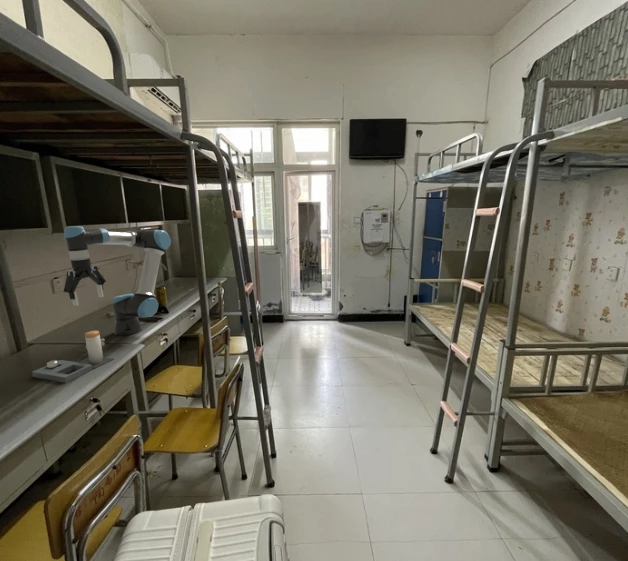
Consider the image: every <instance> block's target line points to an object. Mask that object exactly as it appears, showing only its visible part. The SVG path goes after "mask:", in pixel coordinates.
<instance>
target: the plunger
mask: <svg viewBox="0 0 628 561" xmlns="http://www.w3.org/2000/svg"><path fill="white" fill-rule="evenodd" d="M58 361H59V360H58V359H54V360H50V361H48V362H46V366H47V368H48V369H50V370H52V369H54V368H56V367H59V364H58Z"/></svg>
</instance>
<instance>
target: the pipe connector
mask: <svg viewBox="0 0 628 561" xmlns="http://www.w3.org/2000/svg"><path fill="white" fill-rule="evenodd" d="M100 340H101V347H104V346H105V345H106V343H105V341H106V340H105V338H104V337H102V338H100ZM85 350H87V345H85Z"/></svg>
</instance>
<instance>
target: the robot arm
mask: <svg viewBox="0 0 628 561" xmlns="http://www.w3.org/2000/svg"><path fill="white" fill-rule="evenodd" d="M63 229H64V232H63V234H62V236H63V240H64V241H65V242H66V246H67V249H68V254H69V259H70V263H71V264H70V265H71V269H73V271H71V270H69V271H66V279H65V284H64V287H63V292H64V293H68V296H69V299H70V300H71V302H72V305H73V306H74V307H75V306H77V307H78V306H79V305H80V304H79V299H78V295H77V291H76V289H77V287H78V285H79V283H80V282H81V280H82V279H86V278H89V279H90V280H92V281H93V282H95V284H96V285H95V286H96V291H97V297H98V298H104V297H105V296H104V286H103V285H105V283H106V279H105V277H104V276H103V275H102V274H101V272H100V271H99V268H98V266H97V265H92V263H91V262H92V261H91V258H90V252H89V248H88V246H91V245H107V246H108V245H110V246H111V245H112V246H113V245H115V246H116V245H117V246H126V247H128V248H132V247H133V248H137V249H138V248H139V249H143V250H144V252H145V255H144V258H143V259H144V260H143V264H142V269H141V273H140V278H139V284H138V288H137V291H136V292H134V293H126V294H121V295H120V294H119V295H117V296H114V297H113V298H112V308H113V309H112V310H113V314H114V319H115V320H114V321H115V322H114V328H113V334H114V335H115V336H129V335H132V334H136V333H139V332H141V331H142V330H143V325H142V324H141V322H140V320H139V318H151V317H153V316H154V315H155V314H156V313H157V311H158V309H159V303H158V300H157V299H156V298H157V297H156V295H155V289H156V284H157V283H156V282H157V280H158V279H157V277H158V273H159V268H160V264H161V258H162V256H163V255H164V254H165V253H166V252H165V251H166V250H168V249H169V248H170V247H171V243H172V240H171V237H170V236H169V234H168V232H167V231H165V230H162V229H149V230H148V229H143V230H127V231H112V230H111V231H109V230H107V229H106V228H101V227H100V228H98V227H97V228H84V226H83V225H77V226H76V225H75V226H74V225H73V226H66V227H64V228H63Z"/></svg>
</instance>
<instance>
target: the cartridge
mask: <svg viewBox="0 0 628 561" xmlns="http://www.w3.org/2000/svg"><path fill="white" fill-rule="evenodd" d="M84 337H85V338H84V339H85V345H86V346H87V349H86V350H87V356H88V361H89V362H90V364H98V363H101V362H103V361H104V359H103V357H104V354H103V349H102V348H103V346H101V340H100V339H101V335H100V330H89V331H87V332H84Z"/></svg>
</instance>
